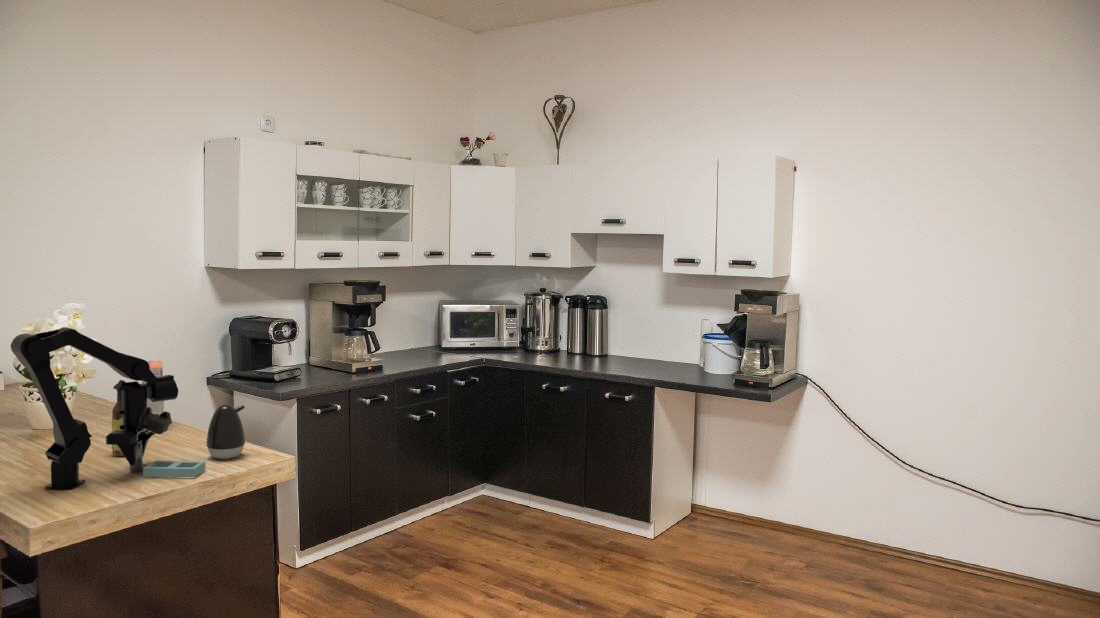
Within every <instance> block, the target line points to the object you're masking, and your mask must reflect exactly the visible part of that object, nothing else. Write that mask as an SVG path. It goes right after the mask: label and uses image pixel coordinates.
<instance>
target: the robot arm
mask: <svg viewBox="0 0 1100 618" xmlns="http://www.w3.org/2000/svg"><path fill="white" fill-rule="evenodd" d="M66 346H69V347H71V348H73V349H75V350H77V351H79V352H81V353H84V354H86V355H87V356H90V357H92V358H94V359H96V360H98V361H100V362H102V363H104V364H106V365H107V366H108V367H110V368H111V370H113V371H114V372H116V373H117V374H118V375H120V376H121V377H123V378H126V379H128V380H131V381H128V382H127V381H125V380H123V379H120V380H119V381H118V382H117V383H116V384H115V385H113V387H112V388H113V390H116V391H117V390H119V391H121V390H122V400H123V409H121V410H119V414H123V425H121V426H120V430H116V431H114V432H112V431H111V432H109V433H108V434H107V435H106V436H105V444H106V445H109V446H112V445H118V447H119V448H120V449H121V451H122V452H123V454H124V456H123V457H124V458H125V460H126V461H127V463H128V464H129V466H130V465H135V460H136V452H137V445H138V444H139V443H140V442H141V441H142V460H143V459H144V454H145V451H146V448H147V445H148V443H149V442H148V441H150V439H151V438H152V437H153V436H155V435H156V434H157V435H163V434H164V433H165V432H168V430H169V426H170V425H172V424H173V422H172V417H171V412H169V411H166V410H164V412H163V413H161V414H160V415H159V414H153V413H152V411H151V408H150V407H147V398H148V399H150V400H151V401H152V402H159V401H164V402H165V401H166V402H167V401H172V400H176V399H177V398H178V395H179V388H178V385H177V382H176V380H175V376H174V374H166V375H163V376H161V377H156V376H155V375H154V374H153V373H152V372H151V371H150V367H149V363H148V362H147V361H148V360H145V359H142V358H141V357H136V356H134V355H130V354H126V353H122V352H119V351H117V350H116V349H115V350H114V349H113V348H111V347H108V346H107V345H105V344H103V343H101V342H99V341H97V340H94V339H93V338H90V337H88V336H87V335H84V334H82V333H80V332H79V331H77V329H75V328H71V327H68V326H65V327H64V326H63V327H60V328H58V329H54V330H48V331H43V332H39V333H35V334H30V333H22V334H18V335H16V336H15V337H14V338H13V339H12V341H11V343H10V350H11V352H12V354H13V355H14V356H15V357H16V359H17V360H18V361H19V363H20V364H21V365H22V366H23V367H24V368H25V369H26V370H27V371H28V373H29V374H30V376H31V379H32V381H33V383H34V386H35V387H36V389H37V391H38V394H39V395H40V398H41V400H42V402H43V405H44V406H45V409H46V410H47V413H48V415H49V417H50V419H51V422H52V433H53V434H52V435H53V439H54V442H53V443H52V444H51V446H50V447H49V448H47V450H46V451H45V452H44V454H45V456H46V458H47V460H49V461H51V462H50V482H51V483H49V484H47V485H45V486H44V489H45V490H46V489H48V490H73V489H74V488H76V487H78V486H80V485H82V484H83V483H85V482H86V479H84V478H83V479H81V478H80V463H82V462H83V460H84V457H85V454H86V453H87V452H88V450H89V448H90V447H91V446H92V445H91V444H92V441H91V438H92V437H93V435H92V434H90V432H89V430H88V426H87V423H86V422H84V421H82V420H79V419H76V418H74V417H73V414H72V412H71V410H70V408H69V406H68V404H67V401H66V399H65V397H64V395H63V393H62V391H61V388H60V386H59V383H58V382H57V380H56V379H57V378H56V377H55V375H54V373H53V370H52V368H51V352H55V351H58V350H61V349H62V348H64V347H66ZM132 380H133V381H132ZM142 381H144V382H147V383H144V384H142V383H139V382H142ZM150 431H153V432H150Z"/></svg>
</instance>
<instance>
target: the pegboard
mask: <svg viewBox="0 0 1100 618" xmlns="http://www.w3.org/2000/svg"><path fill="white" fill-rule="evenodd" d="M204 470H205V471H206V461H201V460H199V461H197V460H196V461H192V460H191V461H190V460H155V461H153V462H151V463H149V464H148V465H146V466H144V467H143V471H142V473H143V477H144V478H145V479H146V478H150V479H152V477H194V478H193V479H196V478H197V477H198V476H197V475H199V474H200V473H201V472H203V471H204ZM205 471H204V472H205ZM204 472H203V473H204ZM201 474H202V473H201ZM201 474H200V475H201ZM200 475H199V476H200ZM196 476H197V477H196ZM195 477H196V478H195ZM144 478H143V479H144Z"/></svg>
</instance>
